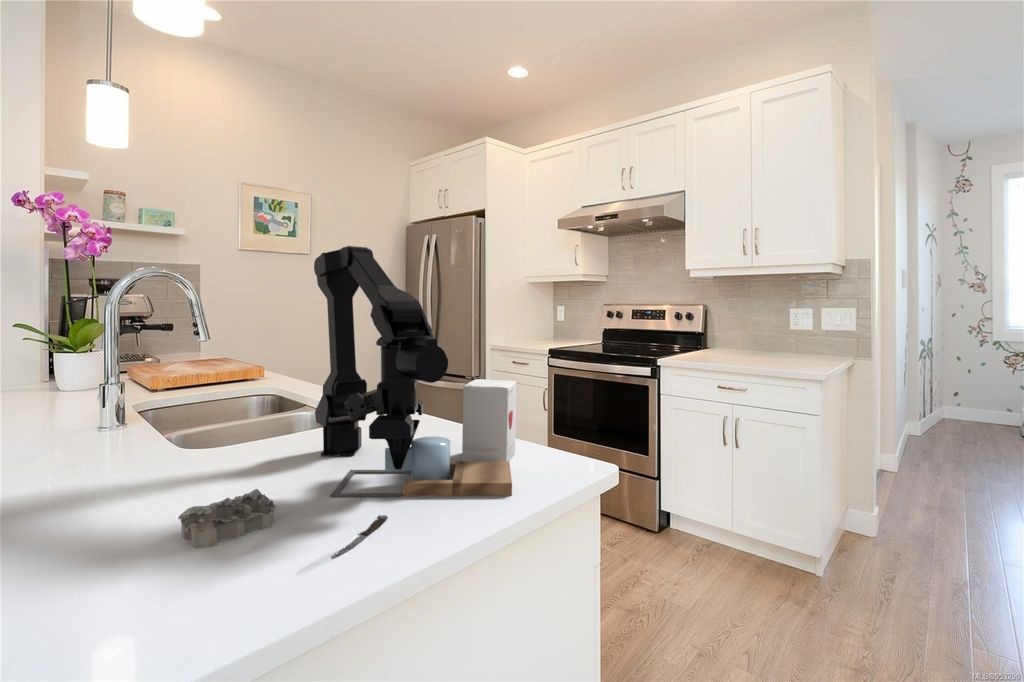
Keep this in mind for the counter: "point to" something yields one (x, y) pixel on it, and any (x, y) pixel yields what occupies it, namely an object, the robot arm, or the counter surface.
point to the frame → (345, 480)
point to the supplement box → (489, 420)
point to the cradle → (466, 480)
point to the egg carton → (227, 519)
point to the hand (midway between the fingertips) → (399, 466)
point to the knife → (362, 536)
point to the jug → (425, 459)
